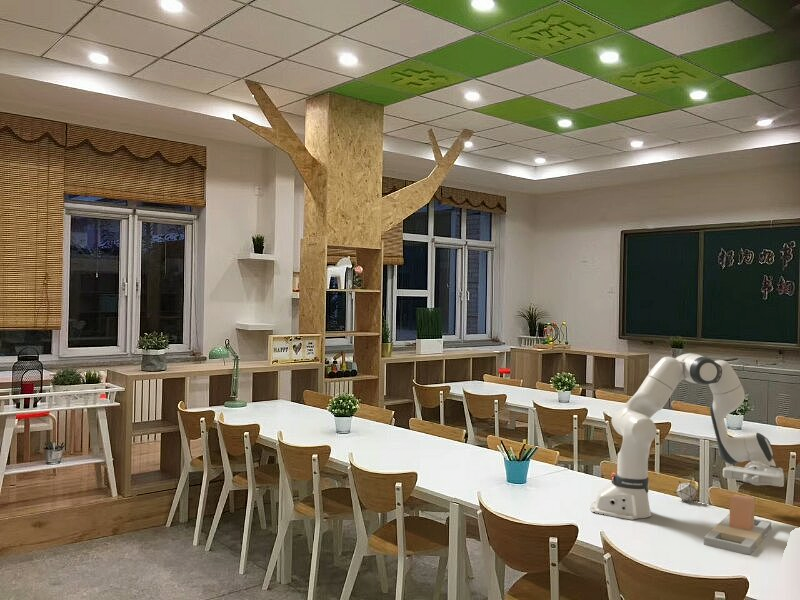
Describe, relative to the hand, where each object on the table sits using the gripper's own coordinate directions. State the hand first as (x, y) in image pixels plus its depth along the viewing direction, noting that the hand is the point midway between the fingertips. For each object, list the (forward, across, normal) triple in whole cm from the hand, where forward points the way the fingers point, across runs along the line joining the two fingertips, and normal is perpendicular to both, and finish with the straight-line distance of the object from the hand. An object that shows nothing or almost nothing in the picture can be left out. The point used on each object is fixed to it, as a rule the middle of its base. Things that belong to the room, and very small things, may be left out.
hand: (748, 480), depth 245 cm
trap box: (+13, 0, +17) cm, 21 cm away
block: (+9, 0, +14) cm, 17 cm away
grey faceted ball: (-19, -27, +17) cm, 37 cm away
